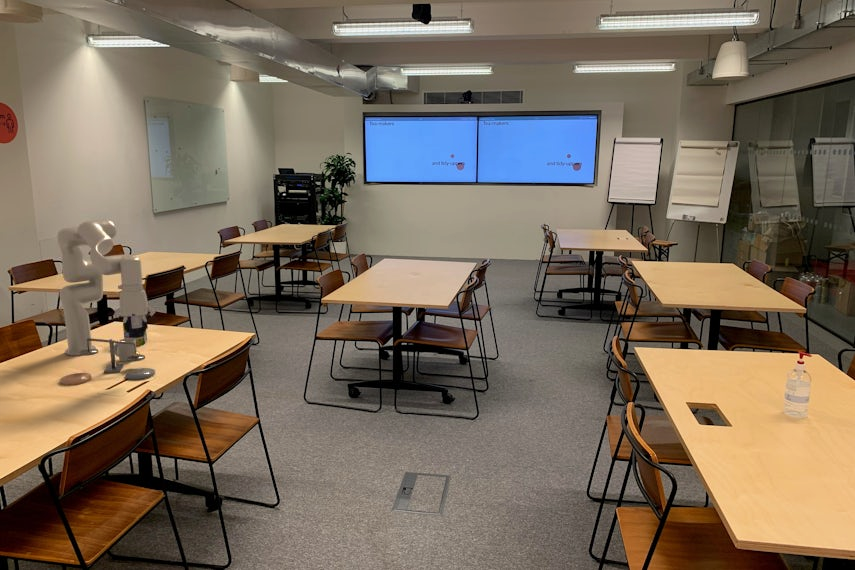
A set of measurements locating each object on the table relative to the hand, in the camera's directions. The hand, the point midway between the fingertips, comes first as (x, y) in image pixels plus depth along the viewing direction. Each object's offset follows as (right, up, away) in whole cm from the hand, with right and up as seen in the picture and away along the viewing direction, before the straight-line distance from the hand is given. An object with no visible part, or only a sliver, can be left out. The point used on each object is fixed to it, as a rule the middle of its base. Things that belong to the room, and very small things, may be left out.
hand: (136, 330), depth 251 cm
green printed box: (-23, -10, +48) cm, 54 cm away
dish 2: (0, -19, +4) cm, 19 cm away
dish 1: (-23, -20, -2) cm, 31 cm away
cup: (-16, -15, +23) cm, 32 cm away
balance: (-14, -17, +10) cm, 25 cm away
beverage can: (0, -3, +1) cm, 3 cm away
